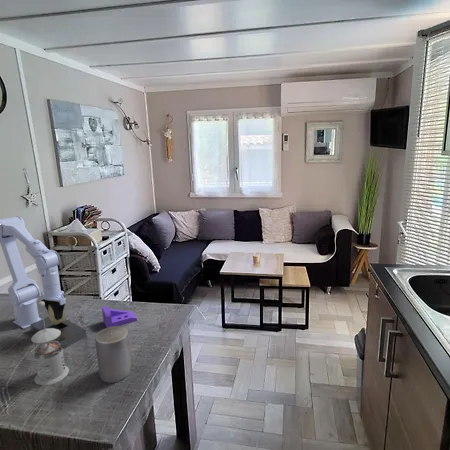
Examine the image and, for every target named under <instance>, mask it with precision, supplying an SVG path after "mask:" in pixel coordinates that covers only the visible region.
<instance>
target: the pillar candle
mask: <svg viewBox="0 0 450 450" xmlns="http://www.w3.org/2000/svg"><path fill="white" fill-rule="evenodd" d="M94 341H95V348H96V355H97V356H96V357H97V365H98V373H99V378H100V380H101V381H102V382H105V383H108V384H109V383H111V384H112V383H113V384H114V383H117V382H119V381H121V380H124V379H125V378H127V377H129V375H130V374H131V372H132V360H131V352H130V344H129V343H130V342H129V333H128V329H127V328H126V327H124V326H122V325H121V326H113V327H108V328H106V327H105V328H102V329H101V330H100V331H98V332H97V333H96V334H95V335H94Z"/></svg>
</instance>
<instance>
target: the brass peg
mask: <svg viewBox="0 0 450 450" xmlns="http://www.w3.org/2000/svg"><path fill="white" fill-rule="evenodd" d="M48 311H49V314H48V317H49V319H50V322H51V323H53V324H54V325H56V324H59V323H61V322H64V321H65V319H66V315H65V314H66V313H65V309H64V310H63V316H62V318H61V319H59V320H56V318H55V315H54V312H53V310H52V308H51V307H50V305H48ZM48 311H47V312H48Z"/></svg>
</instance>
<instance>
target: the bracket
mask: <svg viewBox="0 0 450 450" xmlns="http://www.w3.org/2000/svg"><path fill="white" fill-rule="evenodd" d="M101 312H102V321H103V324H104V326H105V328H108V327H113V326H121V327H122V326H123V325H124V326H125V325H128V324H131V323H135V322H138V318H137V317H136V314H135V313H134V312H133V311H130V310H124V309H123V310H122V309H112V308H109V307H108V306H107V305H106V306H102V307H101Z"/></svg>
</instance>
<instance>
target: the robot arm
mask: <svg viewBox="0 0 450 450" xmlns="http://www.w3.org/2000/svg"><path fill="white" fill-rule="evenodd" d="M17 239H18V241H20V242H21V243H23V245H25V252H27V253H28V254H29V255H30V256H31V257H32V259H34V261H35V263H34V264H35V266H36V268H37V270H38V273H39V274H40V276H41V278H40V279H41V284H42V290H40V287H39V285H37V282H36V280H34V279H33V278H29V277H28V275H27V271H26V269H25V265H24V262H23V261H22V257H21V254H20V252H19V248H18V246H17V242H16V241H17ZM0 246H1V250H2V253H3V255H4V258H5V261H6V264H7V267H8V270H9V274H10V276H11V279H12V283H11V284H10V286H9V287H8V289H7V292H8V298H9V299H8V300H9V302H10V304H12V305H13V314H14V319H15V320H13V324H15V325H17V326H18V327H20V328H22V329H24V330H25V329H27V328H29V327H30V324H32V323H35V322H37V321H40V320H42V319H43V318H41V317H40V316H39V309H38V308H39V307H38V303H37V301H39V297H40V296H41V297H43V298H42V299H41V300H40V302H41V301H43V302H44V303H45V305H44V306H43V307H45V309H46V312H47V314H48V315H49V311H48V305H50V307H51V308H52V310H53V312H54V315H55V318H56V320H59V319H61V318H62V316H63V310H64V311H65V306H66V304H67V299H66V298H65V297H64V294H65V292H64V291H63V290H61V283H60V275H59V267H58V266H59V265H60V264H61V257H60V254H59V253H58V252H57V251H56V250H52V249H48V247H47V246H46V245H45V244H44V243H43V242H42V241H41V240H40V239H34V237H33V236H32V234H31V233H30V232H29V231H28V230H27V228H26V223H25V220H24V218H22V217H21V216H20V215H16V216H13V217H6V218H1V219H0ZM30 328H31V327H30Z"/></svg>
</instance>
